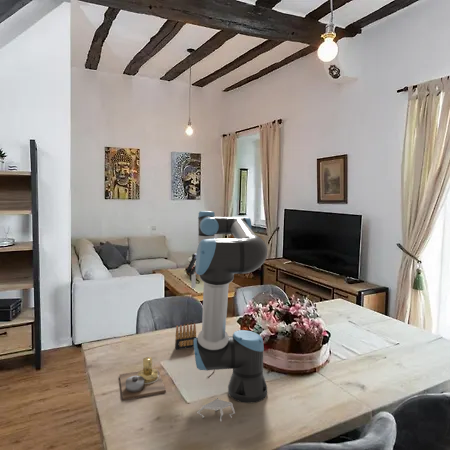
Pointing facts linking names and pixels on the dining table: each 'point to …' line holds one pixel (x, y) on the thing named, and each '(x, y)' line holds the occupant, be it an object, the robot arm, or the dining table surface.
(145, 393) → the carrier plate
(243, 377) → the robot arm
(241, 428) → the dining table surface
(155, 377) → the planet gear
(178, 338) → the ammunition clip
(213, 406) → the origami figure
